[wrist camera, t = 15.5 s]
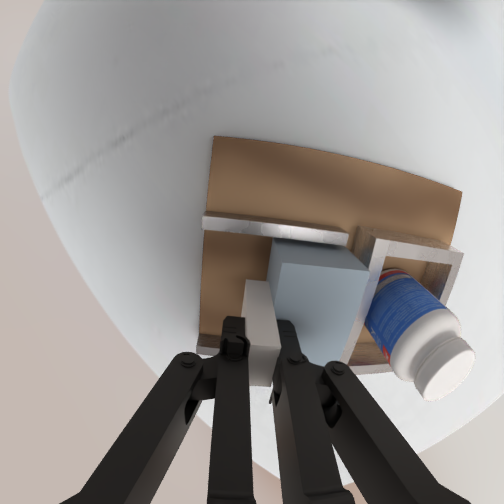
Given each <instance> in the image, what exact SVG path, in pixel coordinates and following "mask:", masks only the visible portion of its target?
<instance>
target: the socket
mask: <svg viewBox="0 0 504 504" xmlns="http://www.w3.org/2000/svg"><path fill="white" fill-rule="evenodd" d="M351 253H352V254H353V255H354V256H355V257H356V258H357V259H358V260H359V261H360V262H361V263H362V264H363V265H364V266H365V267H366V268H367V269H368V270H369V271H370V274H369V278H368V281H367V284H366V288H365V291H364V294H363V297H362V300H361V303H360V306H359V309H358V312H357V315H356V318H355V321H354V324H353V326H352V329H351V332H350V335H349V337H348V340H347V343H346V345H345V348H344V350H343V353H342V355H341V358H340V360H339V361H341V362H343V363H345V364H346V365H348V366H349V367H350V369H351V370H352V371H353V373H354V374H355V375H361V374H373V373H384V372H393V370H392V368H391V367H390V365H389V363H388V362H387V360H386V358H385V357H384V355H383V353H382V352H381V350H380V348H379V347H378V345H377V344H376V342H374V343H356V342H357V340H358V337H359V335H360V332H361V330H362V327H363V324H364V322H365V319H366V316H367V314H368V311H369V308H370V305H371V302H372V299H373V296H374V293H375V290H376V287H377V284H378V281H379V277H380V274H381V271H382V267H383V264H384V260H385V257H386V256H391V257H399V258H406V259H414V260H421V261H428V262H427V266H426V269H425V272H424V275H423V278H422V281H421V285H422V286H423V287H424V288H426V289H427V290H428V291H429V292H430V293H431V294H432V295H434V296H435V297H436V298H437V299H438V300H439V301H440V302H441V303H442V304H444V305H446V303H447V300H448V298H449V295H450V293H451V290H452V287H453V285H454V282H455V279H456V276H457V273H458V271H459V268H460V264H461V261H462V258H463V255H464V253H462V252H461V251H459V250H457V249H456V248H454V247H452V246H450V245H448V244H447V243H445V242H443V241H440V240H435V239H430V238H425V237H420V236H415V235H409V234H404V233H398V232H393V231H387V230H381V229H376V228H370V227H364V226H357V231H356V235H355V240H354V244H353V248H352V252H351Z"/></svg>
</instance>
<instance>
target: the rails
mask: <svg viewBox="0 0 504 504" xmlns="http://www.w3.org/2000/svg"><path fill="white" fill-rule="evenodd" d="M201 229H204V230H214V231H224V232H233V233H242V234H251V235H260V236H269V237H278V238H286V239H295V240H303V241H311V242H319V243H327V244H335V245H343V246H346V245H347V240H348V236H349V233H347V232H346V231H345V230H344V229H342V228H341V227H336V226H329V225H322V224H315V223H307V222H300V221H292V220H285V219H277V218H268V217H260V216H252V215H243V214H234V213H224V212H215V211H205V213H204V214H203V216H202V227H201ZM220 340H221V336H219V335H210V334H201V333H199V337H198V341H197V346H196V354H202V355H210V356H215V355H217V354H218V352H219V350H220Z"/></svg>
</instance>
